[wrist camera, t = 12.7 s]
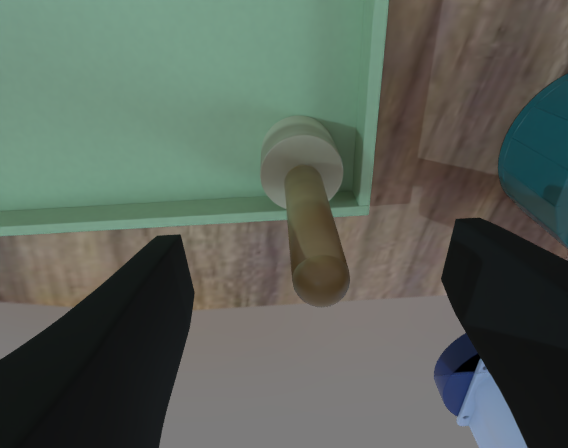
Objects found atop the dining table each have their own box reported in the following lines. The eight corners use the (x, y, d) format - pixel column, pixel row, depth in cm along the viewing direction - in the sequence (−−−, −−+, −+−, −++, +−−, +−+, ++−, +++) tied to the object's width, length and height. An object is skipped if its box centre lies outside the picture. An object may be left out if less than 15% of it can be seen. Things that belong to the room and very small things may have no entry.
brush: (332, 182, 17) (386, 341, 9) (263, 186, 17) (260, 348, 9) (334, 112, 15) (403, 236, 7) (258, 117, 15) (247, 245, 7)
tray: (359, 194, 18) (368, 215, 16) (-153, 223, 18) (-197, 248, 16) (389, -193, 11) (411, -228, 9) (-461, -150, 11) (-599, -178, 9)
